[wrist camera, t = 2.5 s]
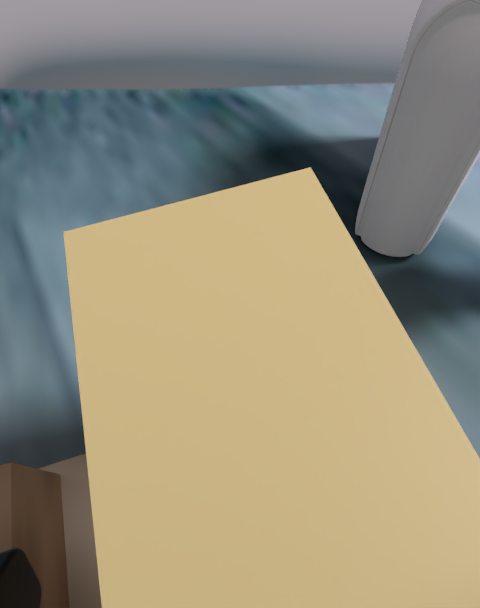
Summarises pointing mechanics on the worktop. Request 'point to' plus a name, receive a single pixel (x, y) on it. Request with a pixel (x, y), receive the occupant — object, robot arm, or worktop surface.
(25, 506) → the wooden blocks on plank
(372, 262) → the worktop surface
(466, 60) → the photo printer
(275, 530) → the tea box
